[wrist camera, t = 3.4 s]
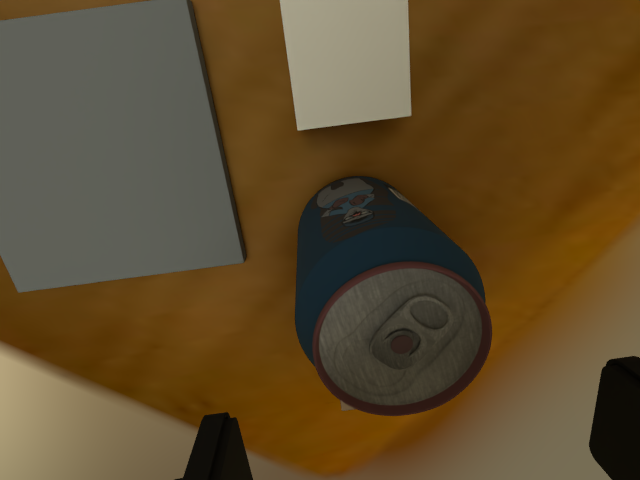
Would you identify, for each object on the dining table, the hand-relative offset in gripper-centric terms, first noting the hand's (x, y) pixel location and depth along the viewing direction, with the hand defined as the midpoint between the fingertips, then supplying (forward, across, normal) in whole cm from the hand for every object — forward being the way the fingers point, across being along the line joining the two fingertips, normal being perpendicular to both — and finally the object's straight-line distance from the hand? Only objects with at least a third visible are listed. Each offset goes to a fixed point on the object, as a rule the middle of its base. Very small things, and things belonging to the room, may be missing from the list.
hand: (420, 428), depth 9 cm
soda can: (+15, 0, -1) cm, 15 cm away
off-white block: (+14, 0, -10) cm, 17 cm away
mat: (+14, +14, -7) cm, 21 cm away
